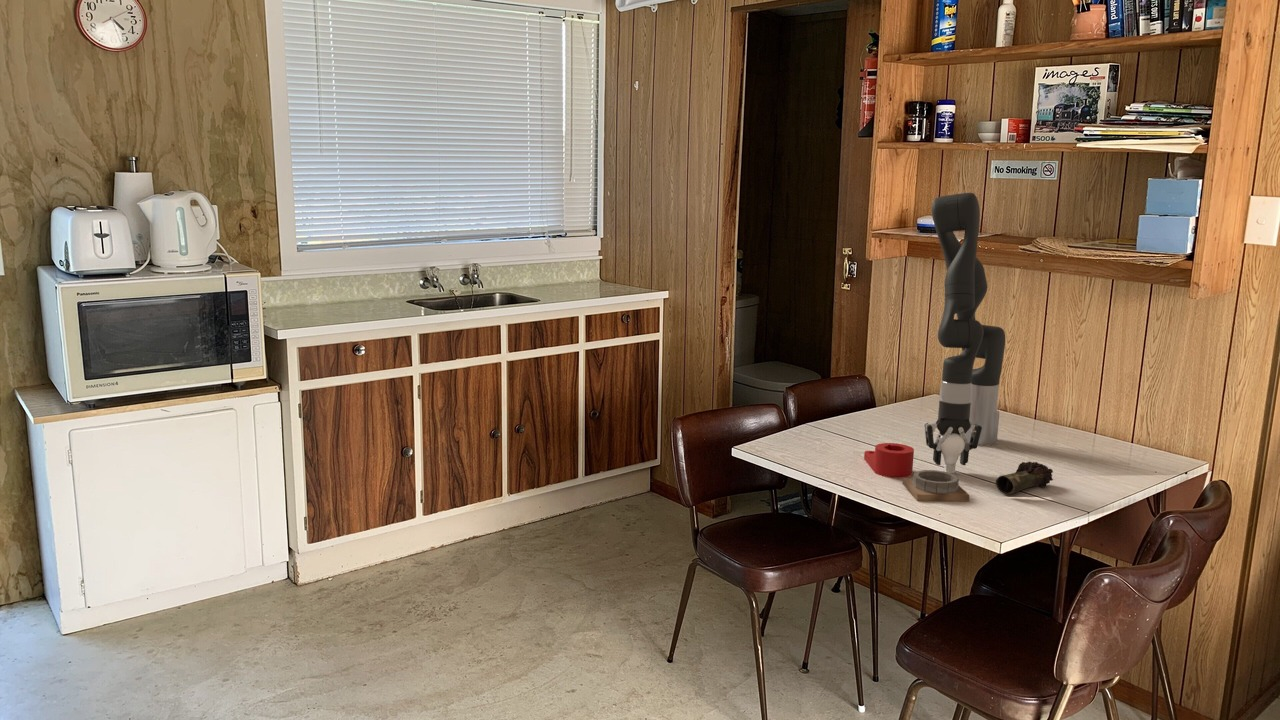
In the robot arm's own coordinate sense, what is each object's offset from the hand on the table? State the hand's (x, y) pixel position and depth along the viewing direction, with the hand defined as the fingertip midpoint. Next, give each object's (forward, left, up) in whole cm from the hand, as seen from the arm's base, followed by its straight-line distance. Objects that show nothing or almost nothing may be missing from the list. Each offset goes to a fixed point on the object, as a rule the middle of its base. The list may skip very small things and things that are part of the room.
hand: (950, 464), depth 243 cm
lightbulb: (0, 0, -3) cm, 3 cm away
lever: (+15, -5, -3) cm, 16 cm away
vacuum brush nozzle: (-9, +16, -5) cm, 19 cm away
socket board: (+8, +15, -3) cm, 17 cm away
